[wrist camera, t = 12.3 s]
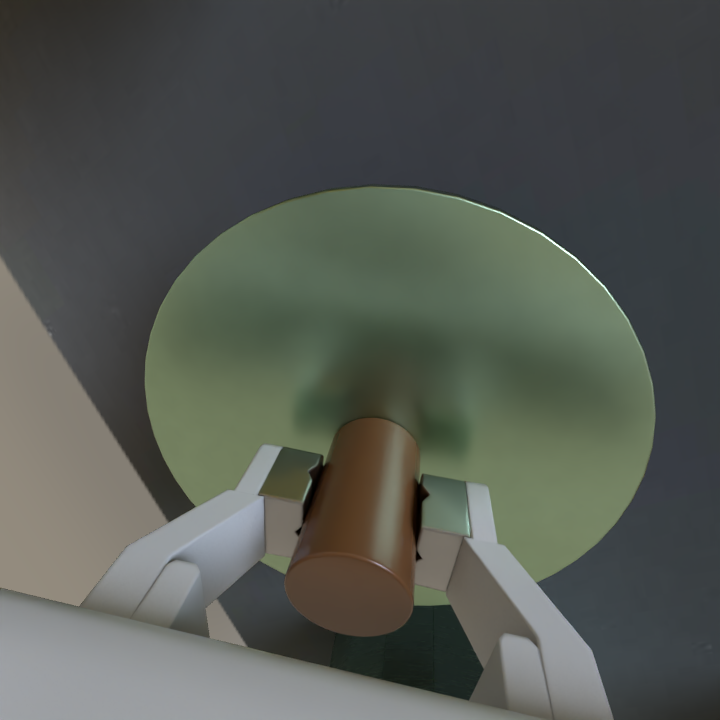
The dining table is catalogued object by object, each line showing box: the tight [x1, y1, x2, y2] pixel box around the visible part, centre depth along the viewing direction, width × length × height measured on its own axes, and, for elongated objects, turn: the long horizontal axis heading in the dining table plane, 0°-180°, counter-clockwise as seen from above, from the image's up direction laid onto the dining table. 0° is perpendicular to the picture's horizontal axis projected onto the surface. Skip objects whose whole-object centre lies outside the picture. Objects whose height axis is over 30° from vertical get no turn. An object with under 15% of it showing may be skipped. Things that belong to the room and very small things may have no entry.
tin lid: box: [145, 184, 656, 637], centre depth 9 cm, size 13×13×5 cm
